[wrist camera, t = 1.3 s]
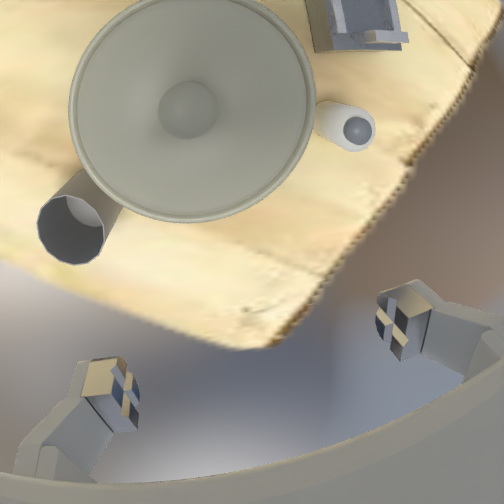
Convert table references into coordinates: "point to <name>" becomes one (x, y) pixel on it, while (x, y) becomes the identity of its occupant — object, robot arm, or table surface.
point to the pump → (344, 125)
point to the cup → (77, 220)
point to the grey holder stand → (355, 25)
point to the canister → (192, 107)
